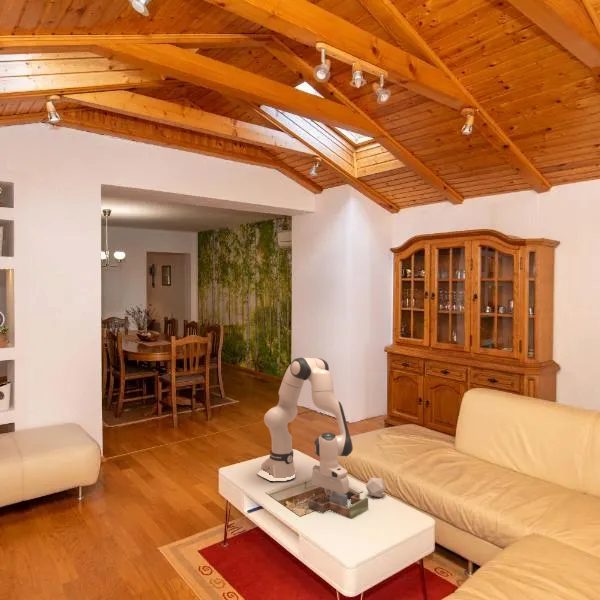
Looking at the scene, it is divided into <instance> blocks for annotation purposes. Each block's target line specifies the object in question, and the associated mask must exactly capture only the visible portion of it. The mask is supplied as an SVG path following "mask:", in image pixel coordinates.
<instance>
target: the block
mask: <svg viewBox="0 0 600 600" xmlns="http://www.w3.org/2000/svg"><path fill="white" fill-rule="evenodd" d="M328 500H329V501H330V502H333V503H335V504H338V505H341V506H344V507H345V506H346V505H347V506H349V505H348V503H349V501H348V500H349V499H347V495H343V494H340V493H335V494H333V495H332V496H330V497H329V499H328ZM347 506H346V507H347Z"/></svg>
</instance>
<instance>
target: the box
mask: <svg viewBox="0 0 600 600" xmlns="http://www.w3.org/2000/svg"><path fill="white" fill-rule="evenodd" d="M329 492H330V490H329ZM335 493H337V492H335ZM335 493H334V494H335ZM330 494H331V492H330ZM344 495H347V500H350V499H351V500H350V505H348V507H347V506H346V507H344V506H341V505H338V504H335V503H333V502H330V500H328V501H326V502H323V503H321V502H319V501H320V500H319V499H320V498H319V497H318V496H315V495H310V497H309V498H310V499H309V500H308V509H310V510H313V511H315V512H318V511H320V512H322V513H321V514H325V513H327V512H329V511H328V510H331V511H330V512H332V511H333V512H332V513H335V512H336V513H335V514H337V513H338V515H340V514H341V515H340V516H344V517H345V518H349V519H353V518H355V517H357V516H360V514H362V513H364V512H366V511H368V510H369V498H368V497H363V498H361V496H360V493H358V492H354V491H351V490H349V491H348V493H346V494H344ZM325 497H327V495H326V494H325ZM351 504H352V505H351ZM326 511H327V512H326ZM320 512H319V513H320ZM324 512H325V513H324Z"/></svg>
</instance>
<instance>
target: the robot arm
mask: <svg viewBox="0 0 600 600" xmlns="http://www.w3.org/2000/svg"><path fill="white" fill-rule="evenodd" d="M329 367H330V366H329V363H328V362H327V361H326V360H324V359H323V358H316V357H297V358H294V359H293V360H291V363H290V364H289V365H288V367H287V369H286V371H285V373H284V375H283V377H282V381H281V384H280V387H279V388H278V389H279V390H278V397H279V398H278V399H279V400H278V402H277V405H276V406H273V407H272V408H269V410H268V411H267V412H265V414H264V417H263V422H264V425H265V426H266V427H267V428H268V431H269V434H270V437H271V451H269V452H268V455H269V457H268V458H267V459H265V460H264V461H263V462H262V464H261V467H260V468H261V469H262V470H263V471H265V472H267V473H269V475H272V476H273V477H274V478H286V477H291V476H293V475H294V474H295V471H296V470H295V462H294V450H293V436H292V434H290V431H289V427H288V426H289V425H288V424H289V423H292V422H293V421H294V420H295V419H296V418H297V416H298V400H299V397H300V394H301V391H302V389H303V386H304V383H305V381H307V380H308V381H309V382H310V384H311V399H312V403H313V405H314V406H315V407H316V408H317V409H319V410H321V411H324V412H327V413H329V414H332V415H334V417H335V418H336V421H337V426H338V429H339V434H337V435H336V434H335V433H333V432H323V433H322V434H320V436H318V437H316V439H315V440H314V441H313V442H314V454H315V455H316V456H318V457H320V459H319V465H317V464H314V465H313V466H312V473H311V484H312V485H313V486H315V487H319V488H322V489H324V490H323V491H324V492H325V496H326V495H327V496H326V499H328V500H330V499H329V497H330V496H332V495H333V494H334V493H335V492H337V493H340V494H343V495H344V494H346V493H348V491H350V485H349V483H350V482H349V479H348V476H347V475H348V470H347V469H346V468H344V467H343V466H342V465H341V464H339V459H338V457H348V456H350V455H351V453H352V452H353V451H354V450H353V449H354V445H353V441H352V438H351V435H350V432H349V428H348V422H347V420H346V416H345V411H344V408H343V405H342V403H341V402H340V401H339V400H337V398H336V396H335V391H334V382H333V377H332V374H331V373H330V371H329V370H330V368H329ZM261 469H260V470H261ZM329 490H330V492H331V494H330V492H329Z"/></svg>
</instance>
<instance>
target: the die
mask: <svg viewBox="0 0 600 600" xmlns="http://www.w3.org/2000/svg"><path fill="white" fill-rule="evenodd" d="M365 488H366V490H367V492H368V495H369V497H373V496H374V498H379V497H382V496H383V494H384V492H385V491H386V489H387V487H386V486H385V483H384V480H383V478H378V477H372V476H371V477H370V478H369V480H368V482H367V483H366V485H365Z"/></svg>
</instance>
